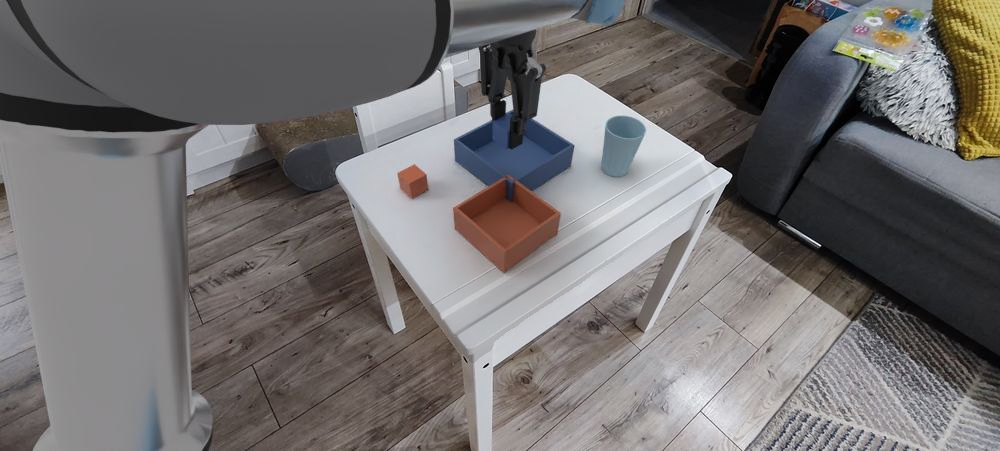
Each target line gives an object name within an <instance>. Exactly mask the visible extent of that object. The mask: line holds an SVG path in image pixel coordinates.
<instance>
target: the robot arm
mask: <svg viewBox="0 0 1000 451" xmlns="http://www.w3.org/2000/svg"><path fill="white" fill-rule="evenodd" d="M626 2H627V0H0V167H1V173H2V178H3V184H4V190H5V195H6V199H7V200H6V201H7V204H8V205H7V206H8V210H9V215H10V221H11V226H12V231H13V236H14V242H15V247H16V252H17V258H18V263H19V267H20V274H21V279H22V283H23V288H24V294H25V299H26V304H27V305H26V306H27V310H28V315H29V322H30V326H31V330H32V336H33V341H34V347H35V351H36V357H37V362H38V368H39V372H40V378H41V383H42V388H43V393H44V398H45V405H46V410H47V415H48V420H49V426H48V427H47V429H45V431H44V432H43V433H42V434H41V436H40V437H39V438H38V440H37V441H36V442H35V444H34V446H33V448H32V451H215V449H214V448H215V447H214V416H213V412H212V408H211V405H210V404H209V402H208V400H207V399H206V398H205V397H204V396H203V395H202V394H200V393H199V392H198V391H196V390H194V389H193V388H192V387H193V386H192V353H191V352H192V350H191V348H192V347H191V343H192V342H191V310H190V309H191V307H190V306H191V305H190V304H191V303H190V267H189V266H190V265H189V264H190V262H189V261H190V260H189V226H188V224H189V223H188V220H189V219H188V186H187V184H188V183H187V180H188V179H187V178H188V177H187V142H188V141H189V140H190V139H191V138H193V137H194V136H195V135H197V134H198V133H200V132H202V130H204V129H205V128H207V127H208V126H248V125H257V124H258V125H259V124H268V123H277V122H284V121H289V120H296V119H303V118H309V117H314V116H319V115H324V114H329V113H333V112H338V111H343V110H347V109H350V108H355V107H358V106H362V105H366V104H370V103H373V102H376V101H379V100H383V99H385V98H389V97H392V96H394V95H396V94H399V93H401V92H405V91H407V90H411V89H412V88H416V87H418V86H420V85H422V84H423V83H425V82H426V81H428V80H429V79H430V78H431V77H432V76H433V75H434V74H435V73H436V72H437V70H438V69H439V68H440V66H441V65H442V63H443V61H444V59H447V58H449V57H453V56H456V55H459V54H462V53H465V52H469V51H472V50H475V49H478V52H479V64H480V65H479V66H480V88H481V89H480V90H481V94H482V96H484V97H487V100H488V102H489V115H490V117H491V120H492V136H493V121H495V120H497V119H499V118H500V117H502V116H504V115H506V113H507V101H506V100H504V99H505V98H506V94H505V91H506V90H505V89H506V85H507V80H508V81H509V83H510V90H511V102H512V110H513V112H514V116H512V117H510V137H509V148H510V149H511V150H512V149H514V148H516V147H517V146H519V145H521V144H523V133H524V132H525V131H526V122H527V121H528V120H530V119H534V118H536V117H537V115H538V110H539V103H540V94H541V86H542V79H543V76H544V75H545V72H546V71H547V67H546V65H545V64H544V63H539V64H538V62H537V61H536V60H535V58H534V52H533V47H532V45H533V42H534V40H535V39H536V35H537V30H538V29H542V28H544V27H548V26H550V25H553V24H556V23H559V22H564V21H567V20H571V19H574V20H579V21H582V22H584V23H585V24H596V25H601V26H609V25H611V24H613V23H615V21H617V19H618V18H619V16H620V15H621V13H622V11H623V9H624V7H625V4H626Z"/></svg>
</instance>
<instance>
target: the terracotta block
mask: <svg viewBox="0 0 1000 451" xmlns="http://www.w3.org/2000/svg"><path fill="white" fill-rule="evenodd" d="M396 174H397V180H398V185H399V188H400V190H401V191H403V192H404V193H405V194H406V195H407V196H408V197H409V198H410V199H411V200H412V199H414V198H416V197H419V196H420V195H422V194H423V193H425V192H427V191H428V190H429V183H428V174H427V173H425V171H423V170H422V169H421V168H420V167H418V166H417V165H416V164H415V163H414V164H412V165H410V166H408V167H406V168H404V169H402V170H400V171H398V172H397V173H396Z"/></svg>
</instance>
